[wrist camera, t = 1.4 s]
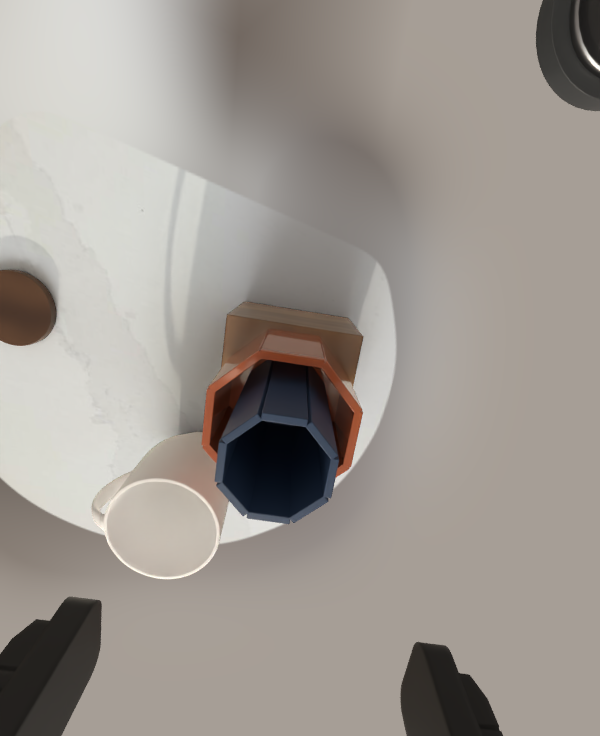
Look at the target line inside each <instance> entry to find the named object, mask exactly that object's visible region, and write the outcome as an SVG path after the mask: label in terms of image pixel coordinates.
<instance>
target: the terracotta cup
mask: <svg viewBox="0 0 600 736" xmlns="http://www.w3.org/2000/svg"><path fill="white" fill-rule="evenodd" d="M266 360H273V361H279V362H286V363H292V364H298V365H305V366H311V367H313V368H314V370H315V371H316V372H317V374H318V375H319V376H320V378H321V379H322V380H323V382H324V385H325V390H326V395H327V400H328V405H329V410H330V416H331V421H332V426H333V431H334V436H335V441H336V447H337V452H338V457H339V463H338V468H337V473H336V477H337V476H339V475H340V474H342V473H344V472H345V471H347V470H348V469H349V467H351V464H352V460H353V455H354V450H355V446H356V441H357V437H358V432H359V428H360V423H361V419H362V414H363V412H362V408H361V406H360V403H359V401H358V398H357V396H356V393H355V391H354V389H353V386H352V384H351V381H350V379H349V377H348V374H347V373H346V372H345V370H344V369H343V367H342V366H341V365H340V363H339V362H338V360H337V359H336V358H335V356H334V355H333V354H332V352H331V351H330V349H329V348H328V347H327V345H326V344H325V342H324V341H323V340H322V338H321V337H320V338H319V336H316V335H310V334H303V333H297V332H291V331H284V330H278V329H272V328H270V330H269V329H267V330H266V331H265V332H263V333H262V334H260V335H259V336H258V337H256V338H255V339H254V340H252V341H251V342H249V343H248V344H247V345H245V346H244V347H243V348H241V349H240V350H238V351H237V352H236V353H234V354H233V355H232V356H230V357H229V359H228V360H227V362H226V363H225V364H224V366H223V367H222V368H221V370H220V371H219V373H218V374H217V375H216V377H215V378H214V379H213V381H212V382H211V384H210V385H209V386H208V388H207V393H206V403H205V413H204V423H203V433H202V443H201V445H202V446H203V447H202V448H203V449H204V450H205V451H206V453H207V454H208V455H209V456H210V457H211V458H212V459H213V461H214V462H215V463H217V454H218V445H219V441H220V439H221V437H222V434H223V432H224V430H225V428H226V425H227V423H228V421H229V419H230V416H231V414H232V412H233V410H234V407H235V405H236V403H237V401H238V398H239V396H240V394H241V392H242V390H243V387H244V385H245V383H246V381H247V378H248V376H249V374H250V373H251V371H252V370H253V369H255V368H256V367H258V366H259V365H260V364H262V363H263V362H265V361H266ZM336 477H335V478H336Z"/></svg>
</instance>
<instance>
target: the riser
mask: <svg viewBox="0 0 600 736" xmlns="http://www.w3.org/2000/svg"><path fill="white" fill-rule="evenodd" d="M270 328H272V329H278V330H284V331H291V332H297V333H303V334H310V335H316V336H319V338H320V337H321V338H322V340H323V341H324V342H325V344H326V345H327V347H328V348H329V349H330V351H331V352H332V354H333V355H334V356H335V358H336V359H337V360H338V362H339V363H340V365H341V366H342V367H343V369H344V370H345V372H346V373H347V374H348V377H349V379H350V381H351V384H352V386H353V384H354V379H355V374H356V369H357V365H358V360H359V355H360V350H361V345H362V341H363V335H362V334H361V333H360V332H359V331H358V329H357V328H356V327H355V326H354V324H353V323H352V322H351V321H350V320H349V318H345V317H339V316H332V315H326V314H320V313H314V312H307V311H301V310H295V309H289V308H283V307H276V306H270V305H264V304H258V303H252V302H243V303H242V304H241V305H239V306H238V307H237V308H235V309H234V310H233V311H231V312H230V313H229V314H227V319H226V328H225V337H224V346H223V355H222V365H221V368H222V367H223V366H224V364H225V363H226V362H227V360H228V359H229V357H230V356H232V355H233V354H234V353H236V352H237V351H238V350H240V349H241V348H243V347H244V346H245V345H247V344H248V343H249V342H251V341H252V340H254V339H255V338H256V337H258V336H259V335H260V334H262V333H263V332H265V331H266V330H267V329H269V330H270Z"/></svg>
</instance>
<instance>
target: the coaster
mask: <svg viewBox="0 0 600 736" xmlns="http://www.w3.org/2000/svg"><path fill="white" fill-rule="evenodd" d="M55 320H56V308H55V303H54V301H53V298H52V296H51V294H50V292H49V291H48V289H47V288H46V287H45V286H44V285H43V284H42V283H41V282H40V281H39V280H38V279H36V278H35V277H33V276H32V275H30V274H28V273H25V272H22V271H18V270H0V341H3V342H5V343H8V344H11V345H17V346H25V345H30V344H33V343H36V342H39V341H41V340H43V339H44V338H46V337H47V336H48V335H49V333H50V332H51V331H52V329H53V327H54V324H55Z"/></svg>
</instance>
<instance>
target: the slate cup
mask: <svg viewBox="0 0 600 736" xmlns="http://www.w3.org/2000/svg"><path fill="white" fill-rule="evenodd" d="M338 463H339V457H338V452H337V447H336V441H335V436H334V431H333V426H332V421H331V416H330V410H329V405H328V400H327V395H326V390H325V385H324V382H323V380H322V379H321V378H320V376H319V375H318V374H317V372H316V371H315V370H314V368H313V367H311V366H305V365H298V364H292V363H286V362H279V361H273V360H266V361H265V362H263V363H262V364H260V365H259V366H258V367H256V368H255V369H253V370H252V371H251V373H250V374H249V376H248V378H247V381H246V383H245V385H244V387H243V390H242V392H241V394H240V396H239V398H238V401H237V403H236V405H235V407H234V410H233V412H232V414H231V416H230V419H229V421H228V423H227V425H226V428H225V430H224V432H223V434H222V437H221V439H220V441H219V445H218V454H217V463H216V472H215V482H217V484H216V486H217V488H218V489H219V490H220V491H221V492H222V493H223V494H224V495H225V497H226V498H227V499H228V500H229V501H230V502H231V503H232V504H233V506H234V507H235V508H236V509H237V510H238V511H239V512H240V513H241V515H242V516H244V515H246V514H247V518H248V519H255V520H263V521H270V522H277V523H284V524H289V523H290V520H291V521H292V522H293V523H295V522H296V521H298V520H300V519H301V518H302V517H304V516H306V515H308V514H309V513H311V512H312V511H314V510H316V509H317V508H319V507H321V506H322V505H324V504H325V503H327V502H328V498H331V496H332V492H333V487H334V482H335V477H336V473H337V468H338Z"/></svg>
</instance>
